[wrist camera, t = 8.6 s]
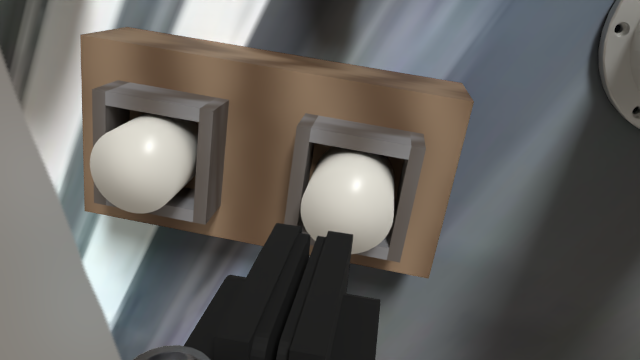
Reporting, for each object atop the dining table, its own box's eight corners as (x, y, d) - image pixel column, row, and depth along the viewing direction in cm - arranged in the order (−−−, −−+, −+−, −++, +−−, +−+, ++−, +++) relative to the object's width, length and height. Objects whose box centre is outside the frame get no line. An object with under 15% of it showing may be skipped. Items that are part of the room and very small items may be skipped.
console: (461, 83, 36) (481, 113, 28) (424, 237, 40) (431, 304, 32) (127, 27, 38) (50, 39, 29) (125, 180, 42) (58, 229, 34)
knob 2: (401, 149, 32) (402, 178, 27) (385, 223, 34) (384, 262, 29) (320, 134, 32) (307, 160, 27) (309, 208, 34) (295, 244, 29)
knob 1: (209, 115, 33) (178, 137, 28) (204, 188, 34) (174, 220, 30) (132, 101, 33) (88, 120, 28) (131, 174, 35) (90, 204, 30)
